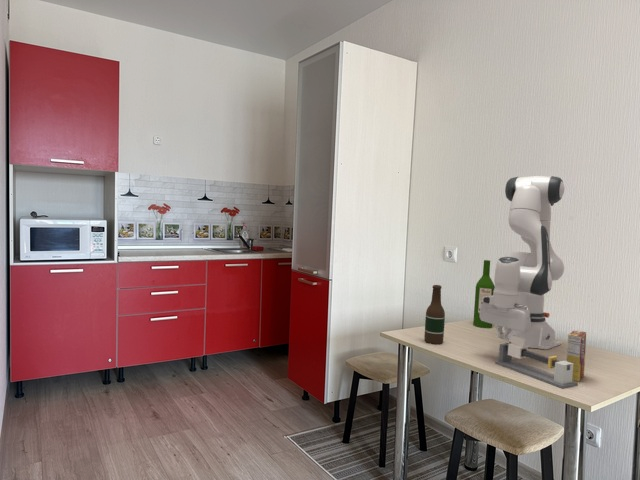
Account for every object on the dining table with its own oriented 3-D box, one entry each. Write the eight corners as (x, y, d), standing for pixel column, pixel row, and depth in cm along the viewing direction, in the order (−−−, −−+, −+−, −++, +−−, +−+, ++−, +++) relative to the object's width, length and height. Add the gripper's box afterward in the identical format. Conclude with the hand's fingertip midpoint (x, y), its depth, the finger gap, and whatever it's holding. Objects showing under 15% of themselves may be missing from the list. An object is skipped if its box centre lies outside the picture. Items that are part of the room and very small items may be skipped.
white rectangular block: (515, 353, 167) (516, 334, 166) (527, 357, 162) (528, 338, 162) (507, 354, 165) (508, 335, 164) (519, 358, 161) (521, 339, 160)
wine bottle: (474, 327, 223) (479, 260, 221) (471, 323, 232) (476, 259, 230) (494, 328, 221) (498, 261, 219) (490, 324, 230) (494, 260, 228)
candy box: (570, 372, 161) (573, 329, 160) (584, 375, 158) (587, 332, 157) (564, 378, 154) (567, 334, 153) (578, 382, 151) (582, 336, 150)
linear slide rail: (509, 360, 171) (511, 340, 171) (577, 385, 148) (579, 361, 148) (495, 363, 167) (496, 342, 167) (562, 388, 144) (564, 364, 144)
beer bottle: (443, 345, 188) (447, 287, 187) (424, 343, 189) (427, 285, 188) (442, 340, 195) (446, 284, 194) (423, 338, 197) (427, 283, 196)
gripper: (536, 306, 161) (533, 345, 161) (489, 296, 179) (487, 331, 179) (524, 307, 158) (521, 347, 158) (478, 296, 176) (475, 332, 176)
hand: (502, 338), depth 169 cm, fingers closed
